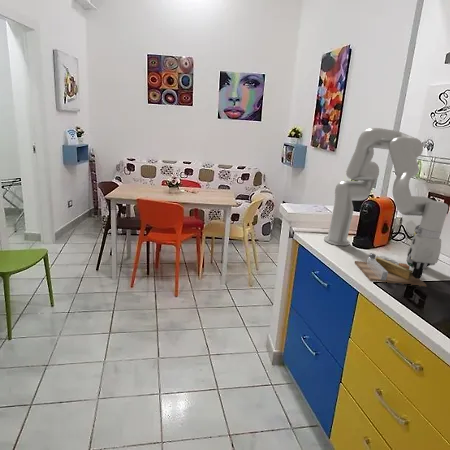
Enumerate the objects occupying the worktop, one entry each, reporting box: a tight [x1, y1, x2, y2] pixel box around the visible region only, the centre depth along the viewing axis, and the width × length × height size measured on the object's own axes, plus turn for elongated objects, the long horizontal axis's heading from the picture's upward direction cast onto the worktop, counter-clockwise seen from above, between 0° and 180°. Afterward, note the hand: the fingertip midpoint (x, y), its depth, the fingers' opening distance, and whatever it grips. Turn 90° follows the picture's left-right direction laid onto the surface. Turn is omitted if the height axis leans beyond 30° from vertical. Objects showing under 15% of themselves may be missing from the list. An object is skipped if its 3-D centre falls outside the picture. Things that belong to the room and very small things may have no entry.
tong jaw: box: [375, 256, 413, 280], centre depth 144 cm, size 15×2×4 cm, turn 34°
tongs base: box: [366, 252, 388, 281], centre depth 143 cm, size 18×3×4 cm, turn 179°
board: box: [354, 260, 427, 288], centre depth 144 cm, size 18×22×2 cm
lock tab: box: [398, 262, 410, 270], centre depth 145 cm, size 3×3×4 cm
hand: (416, 277), depth 139 cm, fingers closed
